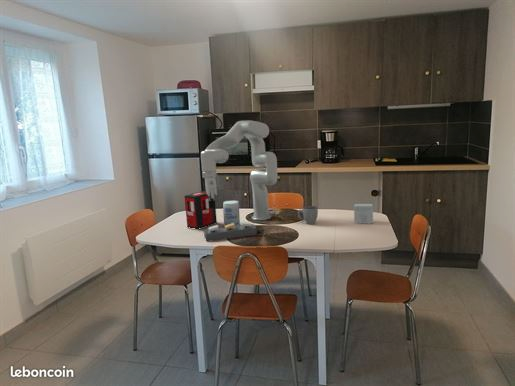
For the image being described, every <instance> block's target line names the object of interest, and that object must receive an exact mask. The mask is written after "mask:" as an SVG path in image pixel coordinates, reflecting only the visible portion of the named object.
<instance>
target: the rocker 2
mask: <svg viewBox="0 0 515 386" xmlns="http://www.w3.org/2000/svg"><path fill="white" fill-rule="evenodd" d="M251 224H252V223H251V222H246V221H240V226H251Z"/></svg>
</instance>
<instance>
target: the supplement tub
mask: <svg viewBox="0 0 515 386" xmlns="http://www.w3.org/2000/svg"><path fill="white" fill-rule="evenodd" d="M239 204H240V203H239V200H225V201H223V204H222V208H223V209H222V210H223V225H224V227H225V225H228V224H231V223H234V224H235V226H241V221H240V220H241V219H240V205H239Z"/></svg>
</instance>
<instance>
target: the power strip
mask: <svg viewBox="0 0 515 386" xmlns="http://www.w3.org/2000/svg"><path fill="white" fill-rule="evenodd" d="M264 230H265V229H264V228H259V229H257V227H256V225H254V223H251V226H242V225H239V226H235V227H232V228H229V229H226V228H225V227H219V229H216V230H213V231H209V229H205V230H203V236H204V240H205V239H206V240H205V241H206V242H210V241H209V240H214V241H219V240H220V241H221V240H228V239H227V238H229V239H235V238H234V237H236V238H243V237H250V236H257V235H258V233H259V232H264Z"/></svg>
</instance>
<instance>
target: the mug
mask: <svg viewBox="0 0 515 386" xmlns="http://www.w3.org/2000/svg"><path fill="white" fill-rule="evenodd" d="M318 209H319V208H318V206H315V205H305V206H303V207H302V209H299V210H298V211H297V216H298V218H299V219H300V220H302V221H304V222H305V224H306V225H309V226H310V225H311V226H312V225H315V224H316V221H317V219H318V211H319V210H318ZM301 213H302V215H303V217H301V216H302V215H301Z"/></svg>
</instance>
